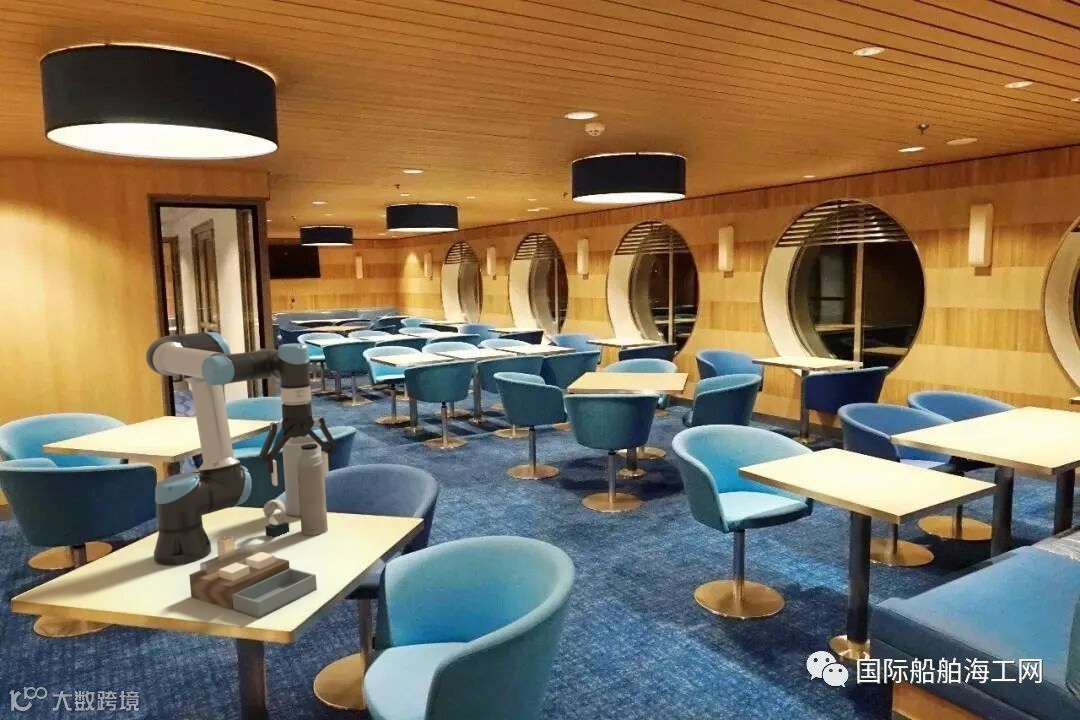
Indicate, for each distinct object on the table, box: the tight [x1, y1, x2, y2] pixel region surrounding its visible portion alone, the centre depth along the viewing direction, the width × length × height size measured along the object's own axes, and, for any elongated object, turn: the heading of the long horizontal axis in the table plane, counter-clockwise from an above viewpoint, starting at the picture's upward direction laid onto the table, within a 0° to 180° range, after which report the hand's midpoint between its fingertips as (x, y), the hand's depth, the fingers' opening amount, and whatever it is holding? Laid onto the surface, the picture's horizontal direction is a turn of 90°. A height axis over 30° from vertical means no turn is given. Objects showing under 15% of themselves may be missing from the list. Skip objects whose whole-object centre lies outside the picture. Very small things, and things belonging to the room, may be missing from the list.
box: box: [232, 567, 318, 620], centre depth 186 cm, size 9×18×4 cm, turn 150°
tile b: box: [246, 551, 276, 569], centre depth 194 cm, size 5×5×2 cm
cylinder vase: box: [281, 435, 322, 517], centre depth 254 cm, size 12×12×25 cm
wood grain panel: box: [189, 551, 291, 611], centre depth 193 cm, size 16×18×6 cm
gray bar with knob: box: [199, 535, 254, 575], centre depth 194 cm, size 3×14×7 cm, turn 150°
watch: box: [262, 498, 290, 538], centre depth 233 cm, size 6×8×11 cm
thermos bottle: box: [297, 444, 329, 536], centre depth 234 cm, size 8×8×28 cm
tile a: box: [219, 563, 250, 581], centre depth 187 cm, size 5×5×2 cm
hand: (300, 480), depth 199 cm, fingers open, 13 cm apart
